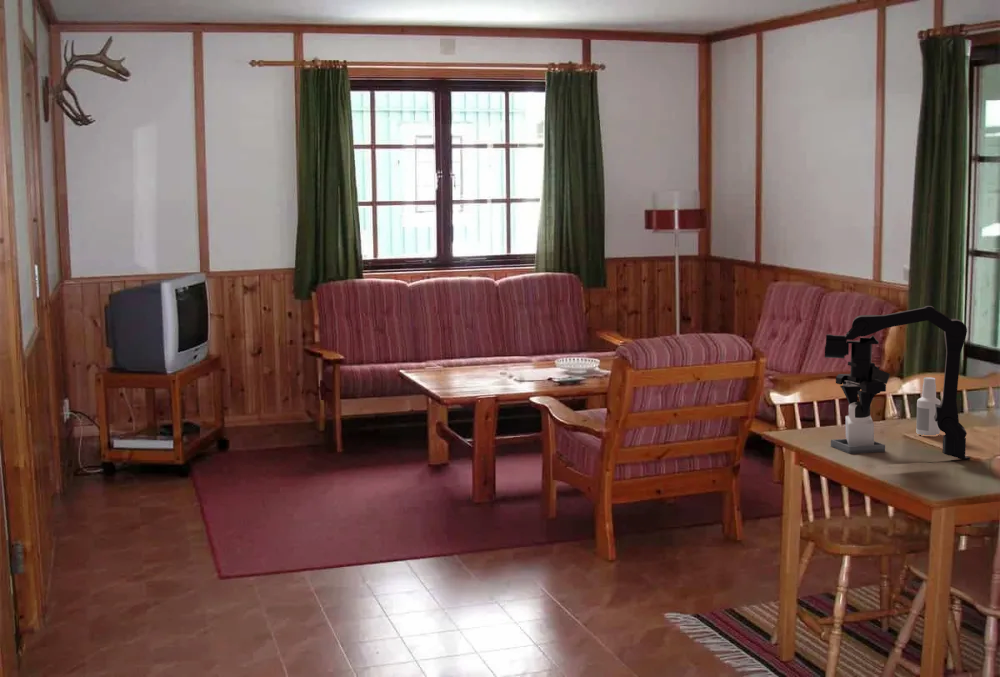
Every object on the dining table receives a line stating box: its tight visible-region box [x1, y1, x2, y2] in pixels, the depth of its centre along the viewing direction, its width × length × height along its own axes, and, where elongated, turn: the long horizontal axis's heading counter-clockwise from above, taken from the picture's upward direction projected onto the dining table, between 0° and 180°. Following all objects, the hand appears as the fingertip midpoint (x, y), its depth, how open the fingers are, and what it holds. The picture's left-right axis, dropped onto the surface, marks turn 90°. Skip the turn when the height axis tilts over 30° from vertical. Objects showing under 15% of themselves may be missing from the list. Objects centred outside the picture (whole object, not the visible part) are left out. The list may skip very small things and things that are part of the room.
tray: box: [830, 438, 886, 454], centre depth 348 cm, size 11×11×2 cm
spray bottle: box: [915, 376, 942, 435], centre depth 366 cm, size 7×7×18 cm
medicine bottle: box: [844, 401, 875, 446], centre depth 348 cm, size 7×7×12 cm
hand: (859, 412), depth 347 cm, fingers closed on medicine bottle, 6 cm apart
